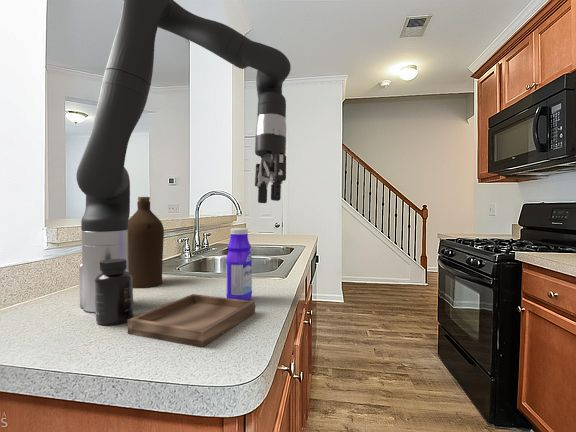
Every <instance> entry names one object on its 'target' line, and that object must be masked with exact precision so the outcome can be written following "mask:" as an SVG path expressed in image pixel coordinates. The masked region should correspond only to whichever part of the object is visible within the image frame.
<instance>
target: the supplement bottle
mask: <svg viewBox="0 0 576 432" xmlns="http://www.w3.org/2000/svg"><path fill="white" fill-rule="evenodd" d="M126 269H127V262H126V259H109V260H103V261H100V269H99V270H100V271H101V274H100V275H98V276H97V277H96V279H95V281H94V286H95V312H94V313H95V322H96V323H97V324H98V325H100V326H115V325H120V324H124V323H128V319H131V318H133V317H134V315H135V314H134V288H133V279H132V275H131V274H130V273H128V272H126Z"/></svg>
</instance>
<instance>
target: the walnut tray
mask: <svg viewBox="0 0 576 432" xmlns="http://www.w3.org/2000/svg"><path fill="white" fill-rule="evenodd" d="M254 314H256V301H253V300H248V301H246V300H238V299H230V298H227V297H221V296H213V295H204V294H196V293H192V294H190V295H187V296H184V297H181V298H179V299H177V300H174V301H171V302H169V303H166V304H163V305H162V306H159V307H157V308H154V309H151V310H149V311H146V312H143V313H140V314H139V315H137V316H133V317H132V318H131V319H128V321H127V334H128V335H132V336H133V335H134V336H139V337H144V338H149V339H156V340H160V341H167V342H172V343H177V344H183V345H188V346H192V347H199V348H205V347H206V346H208V345H209V344H211V343H213V342H214V341H215V340H216V339H218V338H220V337H221V336H222V335H223V336H224V334H225V333H227V332H229V331H231V330H233V328H235V327H236V326H238V325H240V324H241V323H242V322H244V321H246V320H247V319H248V318H250V317H252V316H254Z"/></svg>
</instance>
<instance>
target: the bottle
mask: <svg viewBox="0 0 576 432" xmlns="http://www.w3.org/2000/svg"><path fill="white" fill-rule="evenodd" d="M248 231H249V229H248V228H246V227H233V228H230V240H229V243H228V244H227V250H228V252H227V255H226V261H225V266H226V273H225V274H226V276H225V277H226V279H225V281H226V287H225V289H226V292H225V293H226V294H225V295H226V296H225V297H226V298H230V299H238V300H246V301H250V300H251V298H252V295H253V284H252V283H253V282H252V281H253V280H252V279H253V273H252V271H253V269H252V265H253V264H252V263H253V262H252V261H253V258H252V256H253V255H252V253H251V251H250V250H251V248H252V245H251V244H250V241H249V238H248V236H249V235H248V233H249V232H248Z"/></svg>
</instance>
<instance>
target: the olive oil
mask: <svg viewBox="0 0 576 432" xmlns="http://www.w3.org/2000/svg"><path fill="white" fill-rule="evenodd" d="M150 199H151V197H150V196H137V210H136V212H135V213H133V215H132V216H131V217H129V220H128V261H129V273H130V274H131V275H132V279H133V289H134V288H135V289H143V288H152V287H157V286H160V285H161V284H162V283H163V264H164V263H163V259H164V257H163V256H164V237H165V230H164V225H163V222H162V221H161V220H160V219H159V218H158V216H156V214H155V213H154V212H152V209H151V201H150Z"/></svg>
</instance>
